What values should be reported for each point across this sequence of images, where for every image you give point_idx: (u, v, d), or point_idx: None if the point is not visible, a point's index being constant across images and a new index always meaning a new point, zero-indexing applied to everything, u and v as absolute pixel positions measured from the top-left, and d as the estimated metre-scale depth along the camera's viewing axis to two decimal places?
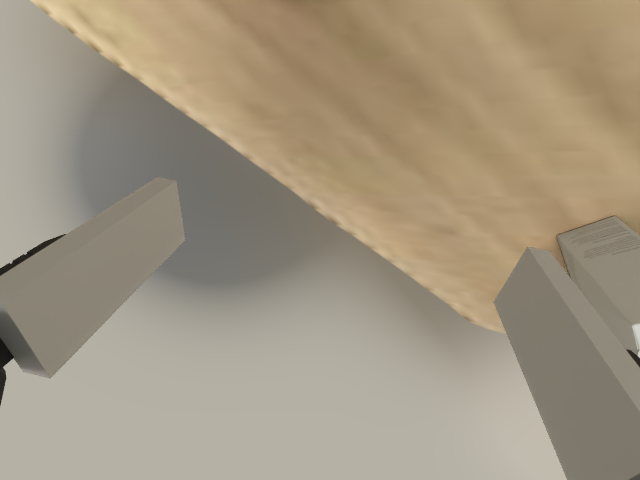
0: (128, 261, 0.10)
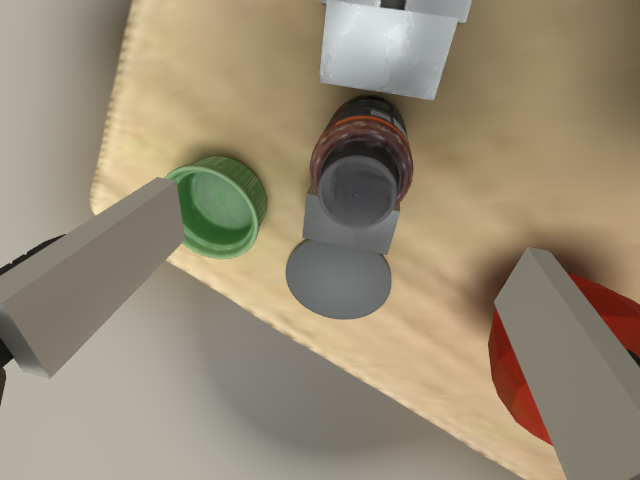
0: (128, 261, 0.10)
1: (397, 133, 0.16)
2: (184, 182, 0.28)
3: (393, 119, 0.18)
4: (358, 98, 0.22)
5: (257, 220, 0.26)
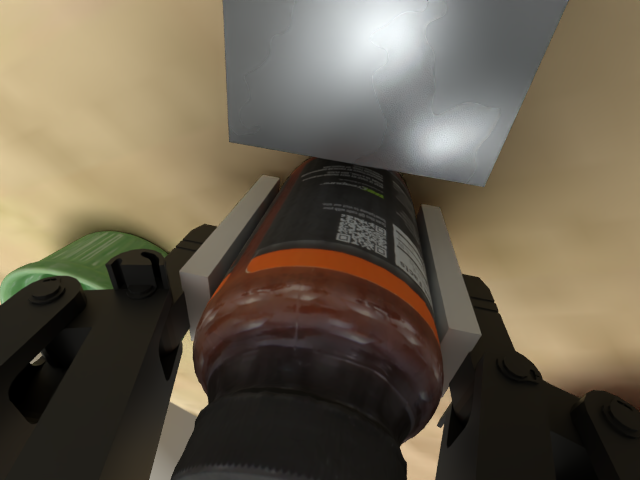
0: None
1: (405, 309, 0.06)
2: None
3: (393, 232, 0.08)
4: (325, 159, 0.11)
5: None
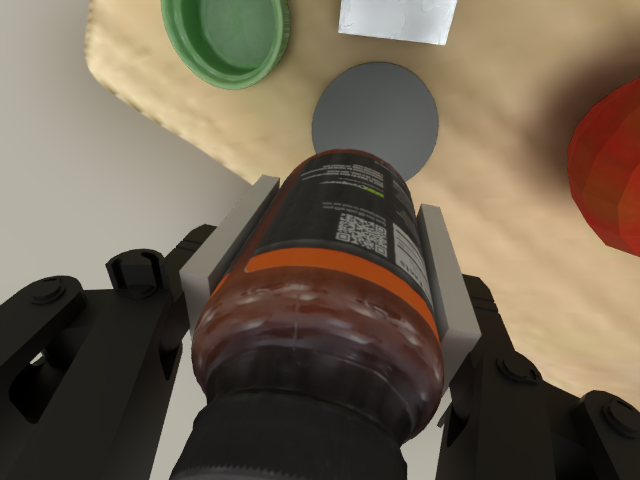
0: None
1: (405, 309, 0.06)
2: None
3: (393, 231, 0.08)
4: (325, 158, 0.11)
5: (282, 16, 0.21)
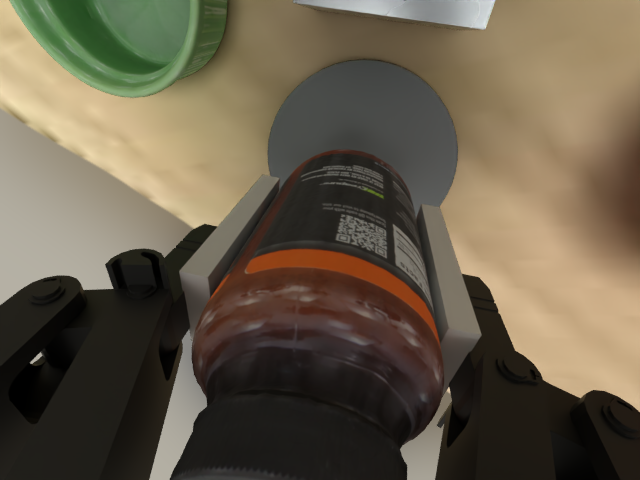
0: None
1: (405, 310, 0.06)
2: None
3: (393, 232, 0.08)
4: (325, 159, 0.11)
5: None
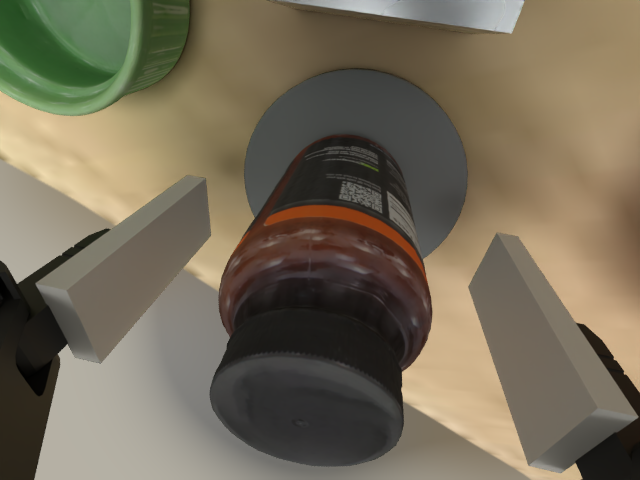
0: (165, 255, 0.10)
1: (397, 250, 0.07)
2: None
3: (387, 196, 0.09)
4: (326, 142, 0.13)
5: None
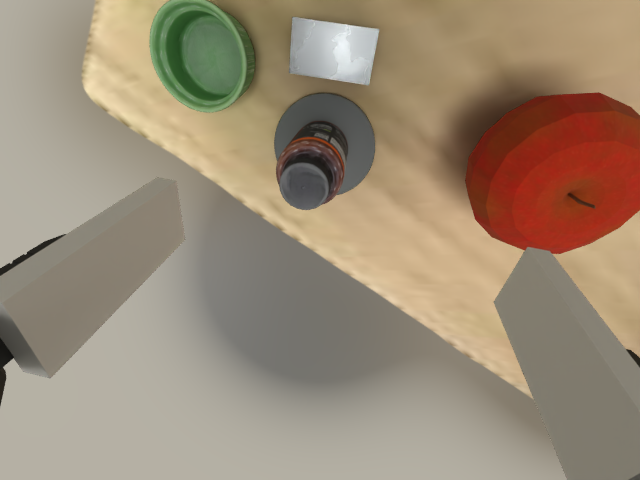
0: (128, 261, 0.10)
1: (330, 148, 0.25)
2: (175, 33, 0.29)
3: (331, 138, 0.28)
4: (311, 123, 0.31)
5: (246, 58, 0.27)
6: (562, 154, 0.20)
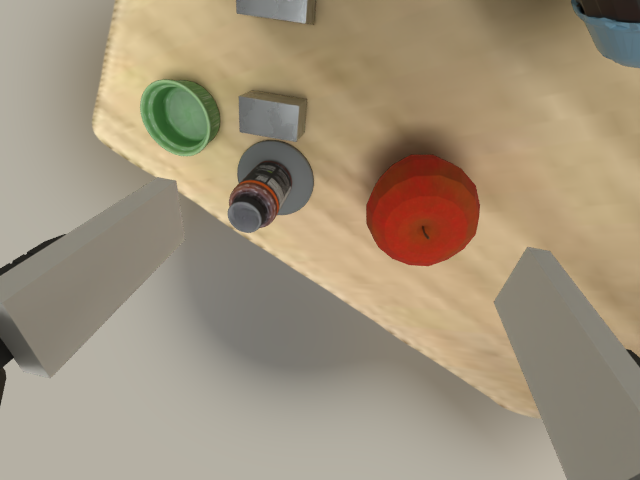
0: (128, 261, 0.10)
1: (265, 188, 0.36)
2: (159, 99, 0.40)
3: (270, 179, 0.38)
4: (261, 163, 0.41)
5: (209, 121, 0.38)
6: (407, 203, 0.30)
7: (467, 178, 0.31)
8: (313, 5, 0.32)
